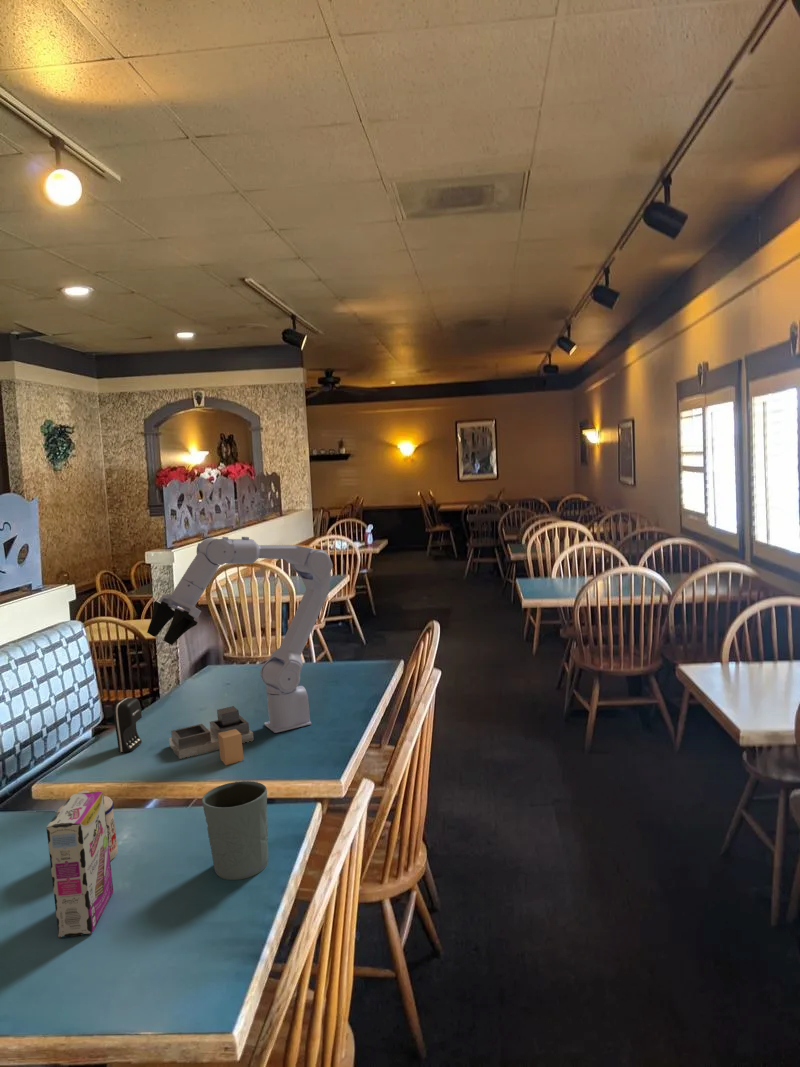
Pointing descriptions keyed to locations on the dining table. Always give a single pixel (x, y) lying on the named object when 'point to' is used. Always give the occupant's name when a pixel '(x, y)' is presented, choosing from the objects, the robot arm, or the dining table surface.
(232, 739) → the plug
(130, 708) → the battery
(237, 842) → the grey cup
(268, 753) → the dining table surface
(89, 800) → the candy bar box
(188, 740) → the power strip
